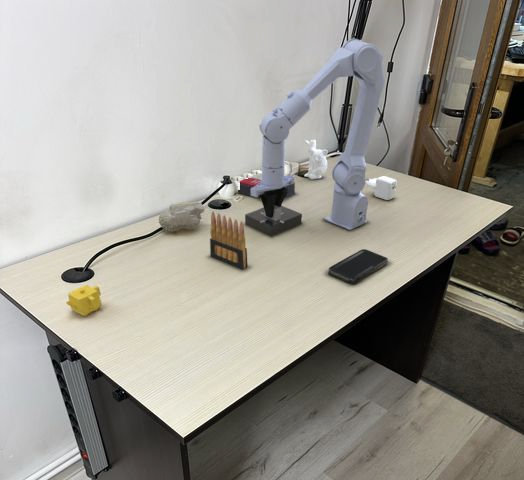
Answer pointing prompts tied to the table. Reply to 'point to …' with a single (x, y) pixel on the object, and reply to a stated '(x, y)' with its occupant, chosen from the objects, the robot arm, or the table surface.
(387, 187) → the power adapter
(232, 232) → the ammunition clip
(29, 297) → the table surface
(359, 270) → the phone
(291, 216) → the panel
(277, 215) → the knob
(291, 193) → the red and grey box
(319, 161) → the white animal figurine
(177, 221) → the fossil replica
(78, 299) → the yellow knobbed block
